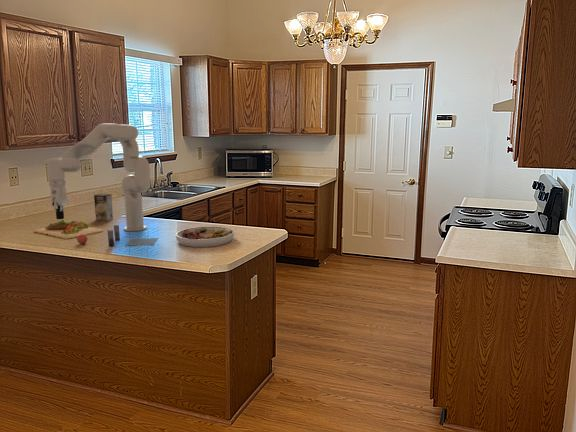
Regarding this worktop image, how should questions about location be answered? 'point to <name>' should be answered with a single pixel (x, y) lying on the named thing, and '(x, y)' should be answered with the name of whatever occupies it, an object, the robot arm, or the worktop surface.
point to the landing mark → (141, 242)
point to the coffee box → (103, 206)
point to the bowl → (205, 236)
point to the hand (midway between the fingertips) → (60, 218)
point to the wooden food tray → (68, 229)
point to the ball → (82, 239)
